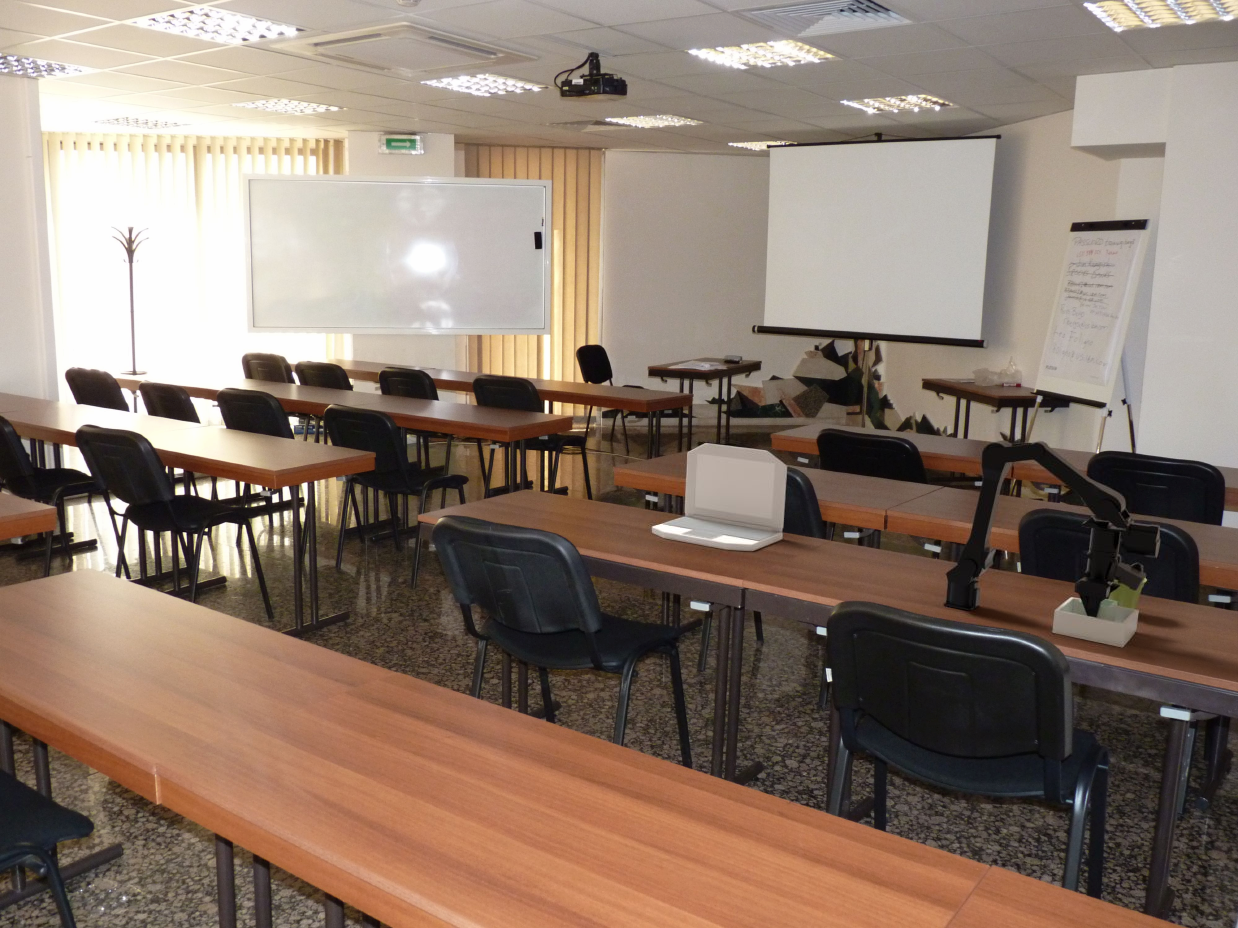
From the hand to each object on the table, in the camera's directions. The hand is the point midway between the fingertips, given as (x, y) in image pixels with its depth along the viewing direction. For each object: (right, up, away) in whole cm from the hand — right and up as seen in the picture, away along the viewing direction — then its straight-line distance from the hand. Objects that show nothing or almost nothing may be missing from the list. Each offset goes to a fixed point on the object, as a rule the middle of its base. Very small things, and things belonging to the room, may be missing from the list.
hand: (1095, 618), depth 218 cm
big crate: (0, -3, 0) cm, 3 cm away
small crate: (0, -1, 0) cm, 1 cm away
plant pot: (+13, -1, +16) cm, 21 cm away
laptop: (-76, +12, +79) cm, 110 cm away
